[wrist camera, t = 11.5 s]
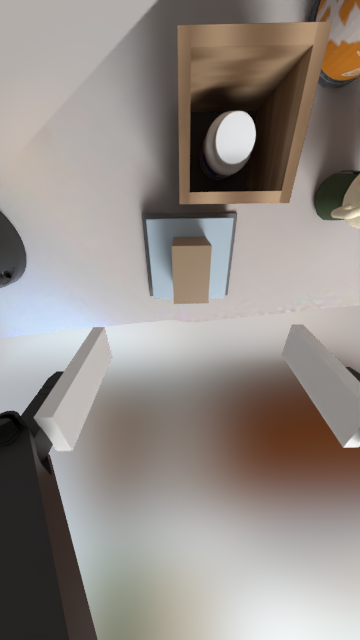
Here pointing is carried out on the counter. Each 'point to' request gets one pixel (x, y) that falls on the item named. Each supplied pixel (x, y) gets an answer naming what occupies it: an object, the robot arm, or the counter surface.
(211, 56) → the box
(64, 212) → the counter surface
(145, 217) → the mat
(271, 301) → the counter surface
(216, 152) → the pill bottle
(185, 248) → the lid
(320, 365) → the robot arm
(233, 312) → the counter surface
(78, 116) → the counter surface
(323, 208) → the character mug
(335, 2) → the canister
